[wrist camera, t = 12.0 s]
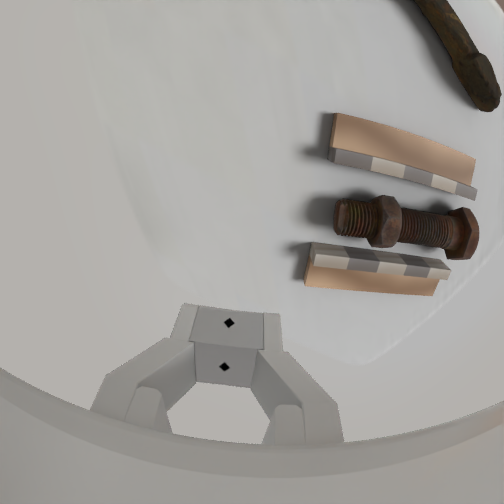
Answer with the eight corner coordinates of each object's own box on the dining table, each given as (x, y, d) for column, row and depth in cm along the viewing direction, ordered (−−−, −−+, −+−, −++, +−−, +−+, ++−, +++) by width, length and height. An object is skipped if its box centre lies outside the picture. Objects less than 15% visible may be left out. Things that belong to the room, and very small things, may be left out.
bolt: (329, 196, 26) (449, 216, 25) (327, 248, 26) (449, 260, 25) (346, 178, 20) (480, 206, 20) (344, 242, 20) (481, 258, 19)
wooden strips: (334, 113, 21) (341, 112, 19) (469, 157, 21) (483, 161, 19) (303, 279, 28) (306, 293, 26) (428, 290, 28) (437, 302, 26)
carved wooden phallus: (370, -37, 13) (385, -56, 9) (396, -40, 12) (414, -57, 7) (463, 117, 19) (491, 121, 15) (483, 107, 18) (510, 110, 14)
